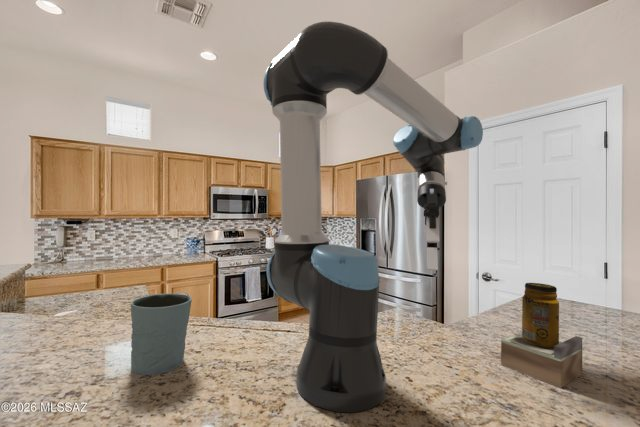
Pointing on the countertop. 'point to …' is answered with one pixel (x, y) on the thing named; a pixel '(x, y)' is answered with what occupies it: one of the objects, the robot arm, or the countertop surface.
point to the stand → (545, 361)
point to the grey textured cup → (159, 332)
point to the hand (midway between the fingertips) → (432, 256)
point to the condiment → (539, 318)
